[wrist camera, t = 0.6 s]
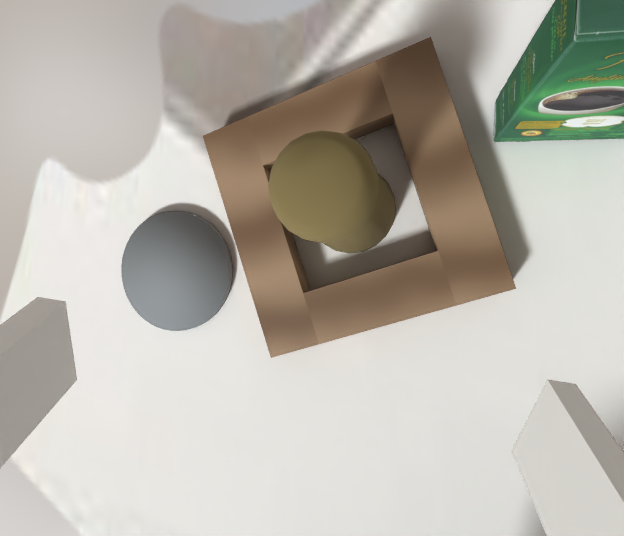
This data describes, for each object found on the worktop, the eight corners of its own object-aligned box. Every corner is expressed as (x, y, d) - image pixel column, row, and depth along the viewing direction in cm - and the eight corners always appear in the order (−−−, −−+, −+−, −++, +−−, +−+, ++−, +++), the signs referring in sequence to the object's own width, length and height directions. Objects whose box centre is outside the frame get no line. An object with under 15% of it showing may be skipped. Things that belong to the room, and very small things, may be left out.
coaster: (247, 310, 31) (244, 311, 30) (145, 342, 33) (140, 344, 32) (211, 195, 31) (208, 193, 31) (113, 234, 33) (108, 233, 33)
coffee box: (640, 91, 25) (883, -85, 12) (638, 140, 25) (874, 18, 12) (494, 98, 27) (569, -47, 14) (492, 144, 27) (564, 41, 14)
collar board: (508, 286, 27) (515, 288, 25) (280, 351, 30) (270, 357, 28) (429, 52, 27) (430, 37, 26) (215, 143, 31) (202, 135, 29)
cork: (325, 154, 29) (275, 94, 19) (409, 180, 28) (407, 133, 17) (296, 236, 30) (232, 224, 19) (377, 265, 29) (355, 271, 18)
